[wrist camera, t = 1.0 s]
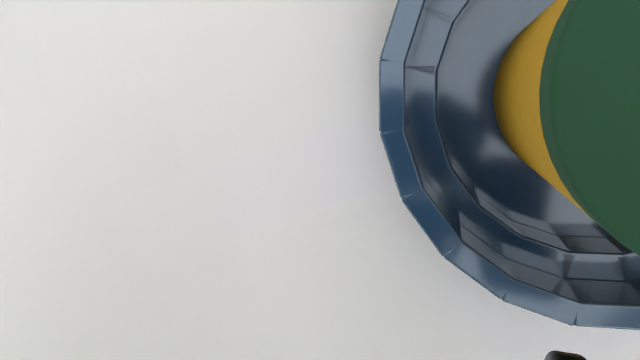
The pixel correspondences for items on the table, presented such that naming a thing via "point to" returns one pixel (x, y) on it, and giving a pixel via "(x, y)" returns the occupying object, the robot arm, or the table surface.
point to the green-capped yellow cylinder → (579, 107)
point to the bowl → (490, 169)
